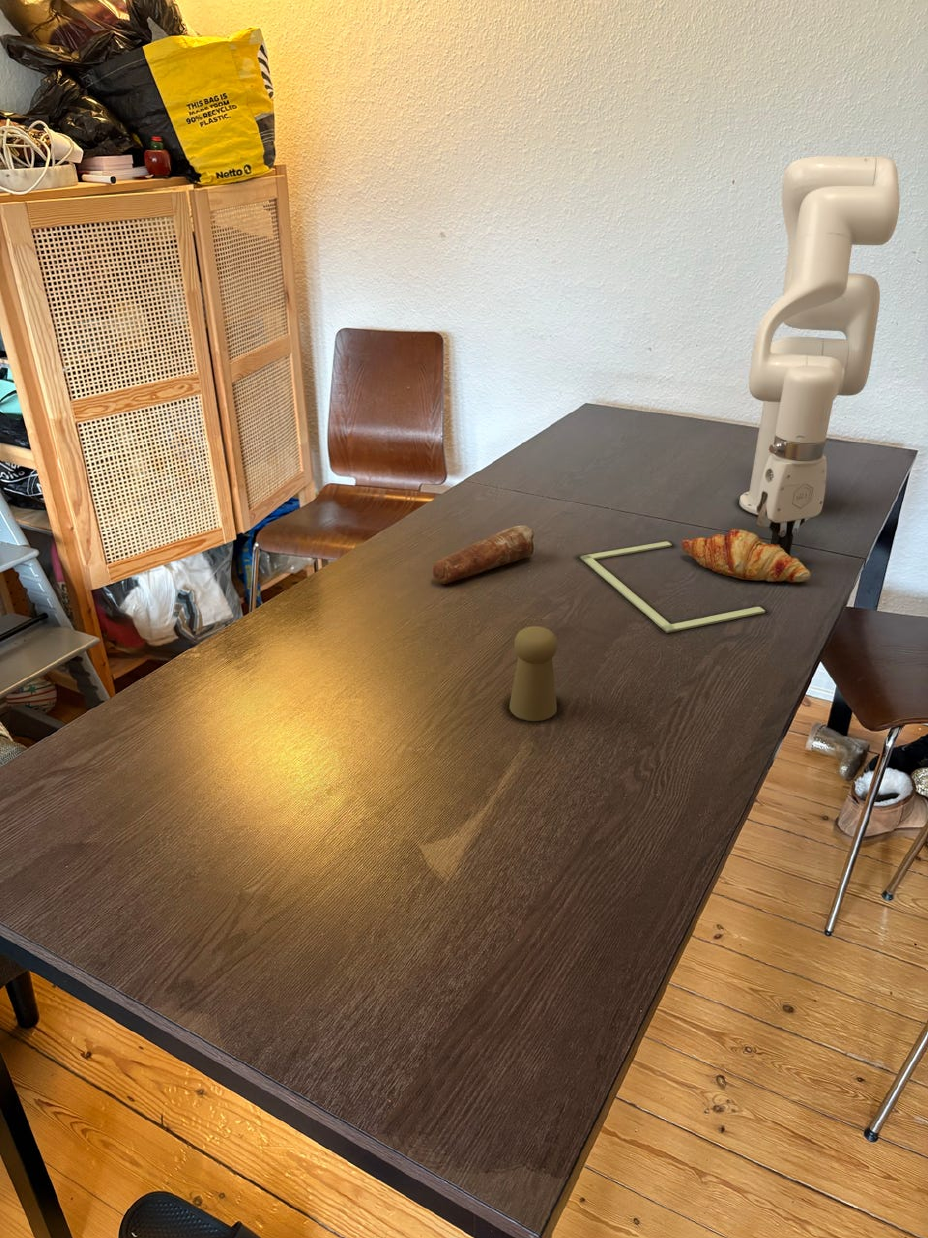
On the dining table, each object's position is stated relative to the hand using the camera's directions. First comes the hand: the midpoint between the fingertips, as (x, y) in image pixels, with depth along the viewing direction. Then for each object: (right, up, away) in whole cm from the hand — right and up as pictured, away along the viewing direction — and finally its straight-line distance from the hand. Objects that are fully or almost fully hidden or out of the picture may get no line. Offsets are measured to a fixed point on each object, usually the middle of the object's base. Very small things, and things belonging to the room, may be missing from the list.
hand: (779, 554), depth 151 cm
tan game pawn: (-44, -22, -36) cm, 61 cm away
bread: (-49, -3, -1) cm, 49 cm away
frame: (-20, -5, -5) cm, 21 cm away
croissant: (-7, -3, -1) cm, 7 cm away
